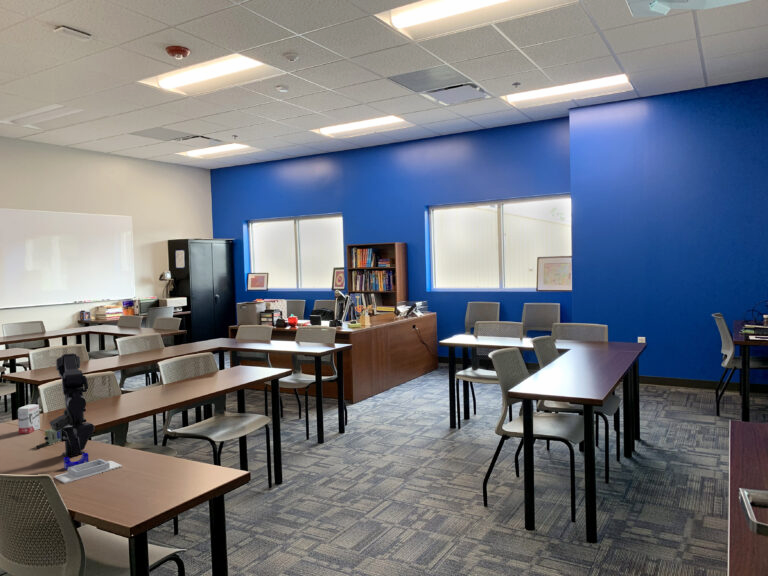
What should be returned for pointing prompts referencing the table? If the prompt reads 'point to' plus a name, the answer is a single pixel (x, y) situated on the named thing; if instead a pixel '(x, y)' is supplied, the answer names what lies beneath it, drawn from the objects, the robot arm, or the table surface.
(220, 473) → the table surface
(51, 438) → the handheld radio
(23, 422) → the ink box
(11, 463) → the table surface
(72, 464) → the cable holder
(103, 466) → the desk organizer
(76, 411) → the robot arm
